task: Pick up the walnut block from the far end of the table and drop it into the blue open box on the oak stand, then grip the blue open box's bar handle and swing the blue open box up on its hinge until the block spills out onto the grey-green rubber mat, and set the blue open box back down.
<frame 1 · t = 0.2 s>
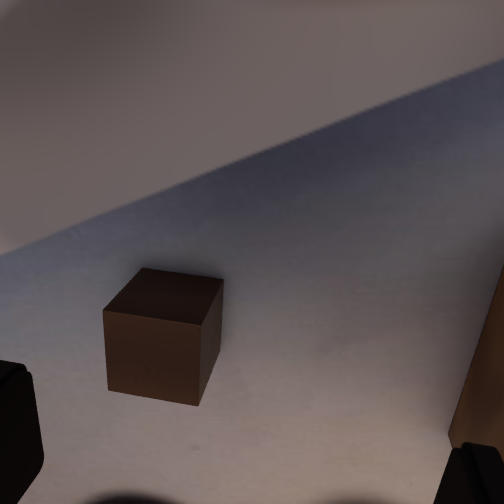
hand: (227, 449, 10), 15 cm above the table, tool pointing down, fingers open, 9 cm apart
block: (181, 310, 27), on the table
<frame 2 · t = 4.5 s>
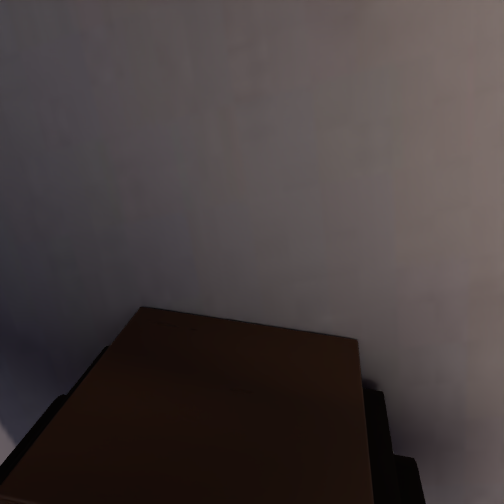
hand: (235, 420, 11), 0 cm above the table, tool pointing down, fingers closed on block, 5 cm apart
block: (239, 407, 11), on the table, touching gripper
when the fingers open (14 cm above the table, at t = 10.8 s): block stays where it is, resting on blue open box.
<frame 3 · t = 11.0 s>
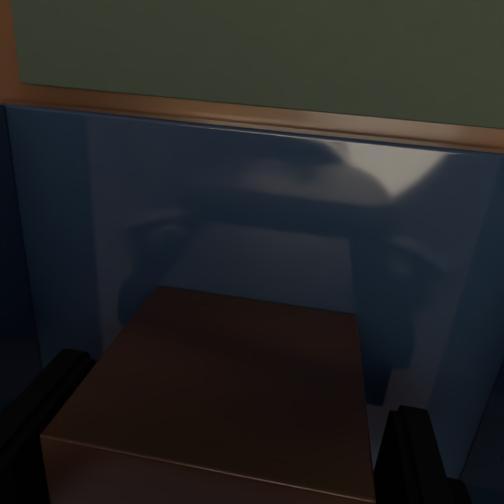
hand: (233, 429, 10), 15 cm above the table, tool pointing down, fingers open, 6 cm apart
block: (247, 380, 12), point 13 cm above the table, touching blue open box
stand: (296, 148, 22), on the table
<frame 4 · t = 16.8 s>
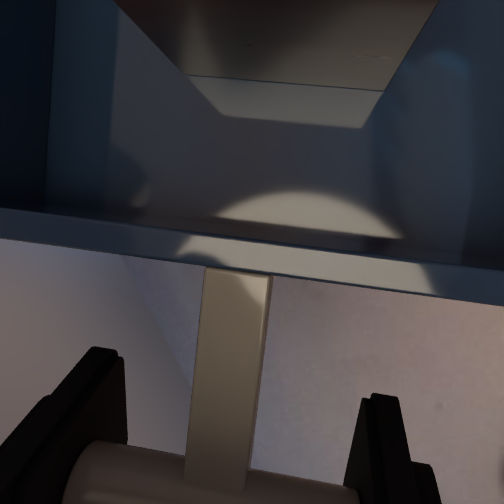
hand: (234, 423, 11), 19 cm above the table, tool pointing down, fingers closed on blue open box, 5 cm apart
blue open box: (272, 84, 9), point 17 cm above the table, hinge at 17.1°, touching block, gripper
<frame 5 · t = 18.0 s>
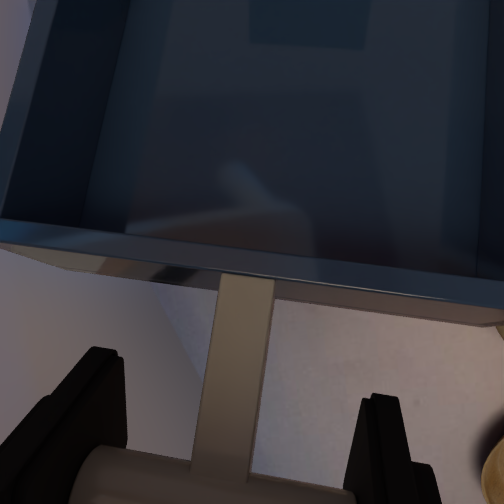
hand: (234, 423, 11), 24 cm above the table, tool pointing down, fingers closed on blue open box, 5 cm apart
blue open box: (275, 154, 12), point 20 cm above the table, hinge at 34.7°, touching gripper
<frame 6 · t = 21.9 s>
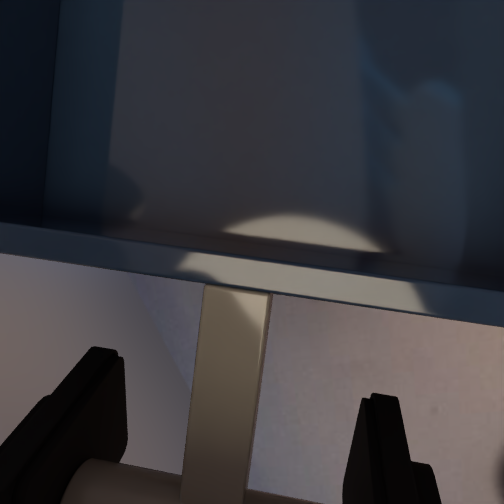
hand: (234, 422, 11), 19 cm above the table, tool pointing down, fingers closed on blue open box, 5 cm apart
blue open box: (273, 102, 9), point 18 cm above the table, hinge at 18.6°, touching gripper
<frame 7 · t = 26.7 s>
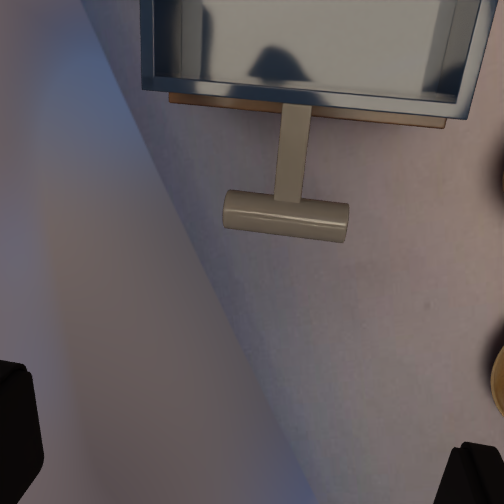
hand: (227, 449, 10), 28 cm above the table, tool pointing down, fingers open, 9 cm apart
blue open box: (310, 6, 18), point 15 cm above the table, hinge at -0.1°
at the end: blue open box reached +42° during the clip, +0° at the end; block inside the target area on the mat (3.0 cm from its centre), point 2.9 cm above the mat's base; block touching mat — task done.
